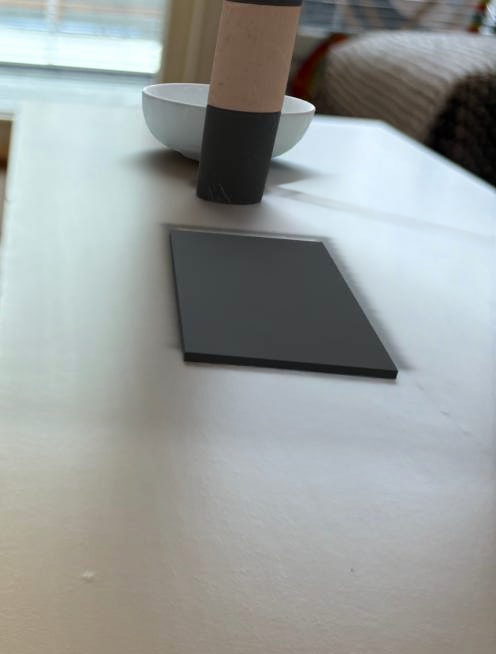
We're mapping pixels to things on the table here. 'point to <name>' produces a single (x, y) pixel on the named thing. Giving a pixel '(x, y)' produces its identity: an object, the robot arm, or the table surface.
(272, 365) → the mat
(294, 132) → the serving bowl
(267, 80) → the travel mug
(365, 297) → the table surface
